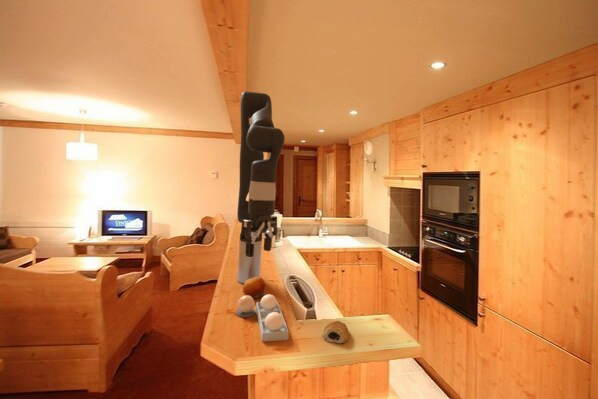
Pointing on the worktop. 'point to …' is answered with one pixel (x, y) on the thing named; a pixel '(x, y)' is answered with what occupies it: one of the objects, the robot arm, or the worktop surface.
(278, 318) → the egg
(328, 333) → the pastry
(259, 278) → the fruit
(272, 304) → the egg
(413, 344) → the worktop surface
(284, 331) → the carton
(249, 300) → the pale pink ball
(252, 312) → the mat
